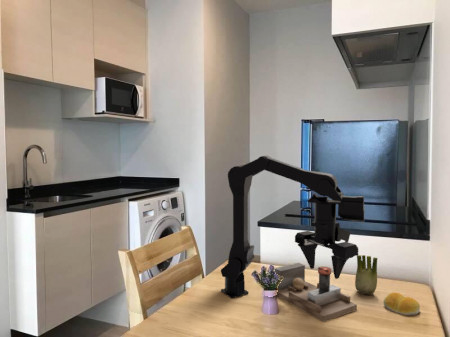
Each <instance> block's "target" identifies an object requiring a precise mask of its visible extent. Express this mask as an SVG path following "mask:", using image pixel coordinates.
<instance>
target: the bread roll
mask: <svg viewBox="0 0 450 337" xmlns="http://www.w3.org/2000/svg"><path fill="white" fill-rule="evenodd" d="M383 305H384V306H385V308H387V309H388V310H390V311H393V312H395V313H398V314H400V315H402V316H403V315H404V316H405V315H406V316H407V315H408V316H412V315H417V314H419V313H420V307H421V305H420V302H419V301H418V300H416V299H415V298H413V297H410V296H404V295H403V294H401V293H400V292H395V291H394V292H391V293H390V292H389V294H387V295H386V296H385V297H384V298H383Z"/></svg>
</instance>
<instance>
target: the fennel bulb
mask: <svg viewBox="0 0 450 337" xmlns="http://www.w3.org/2000/svg"><path fill="white" fill-rule="evenodd" d="M356 261H357V262H356V264H357V265H356V266H357V267H356V274H355V279H354V281H355V282H354V285H355V289H356V291H357V292H359V293H360V294H362V295H366V296H367V295H371V296H372V295H373V294H375V291H376V290H377V285H378V257H375V256H374V257H372V256H371V255H367V256H366V255H364V254H361V255H360V254H358V255H357V256H356Z"/></svg>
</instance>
